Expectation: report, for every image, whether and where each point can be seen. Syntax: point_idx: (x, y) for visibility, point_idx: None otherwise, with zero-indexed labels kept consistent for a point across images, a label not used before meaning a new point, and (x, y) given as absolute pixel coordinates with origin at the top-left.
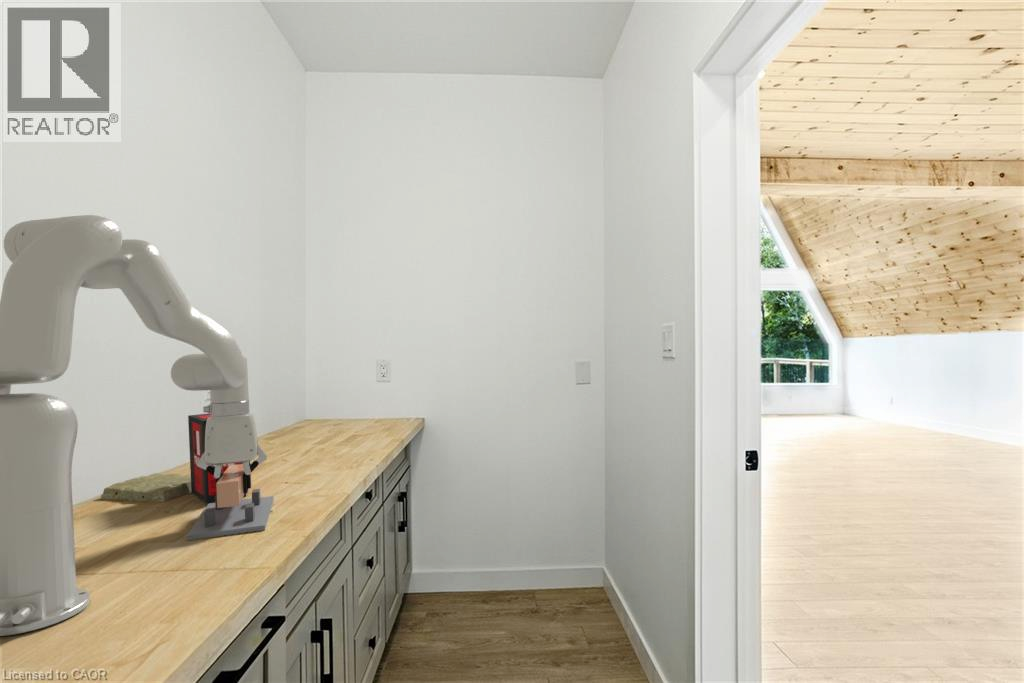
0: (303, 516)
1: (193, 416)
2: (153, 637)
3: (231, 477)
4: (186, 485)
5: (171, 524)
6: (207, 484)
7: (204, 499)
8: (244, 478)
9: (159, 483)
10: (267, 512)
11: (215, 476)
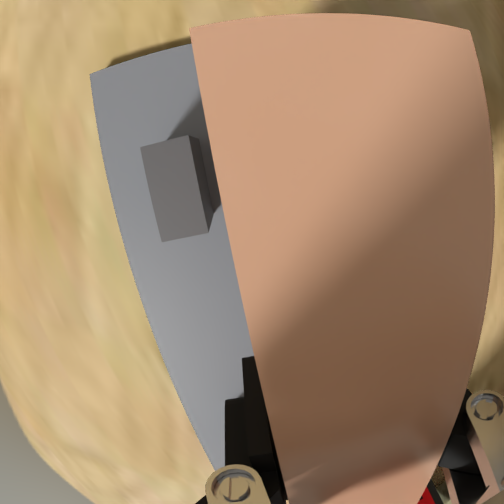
0: (13, 250)
1: None
2: None
3: (375, 321)
4: (446, 496)
5: (491, 272)
6: (429, 484)
7: None
8: (260, 434)
9: None
10: (142, 288)
11: (490, 402)
